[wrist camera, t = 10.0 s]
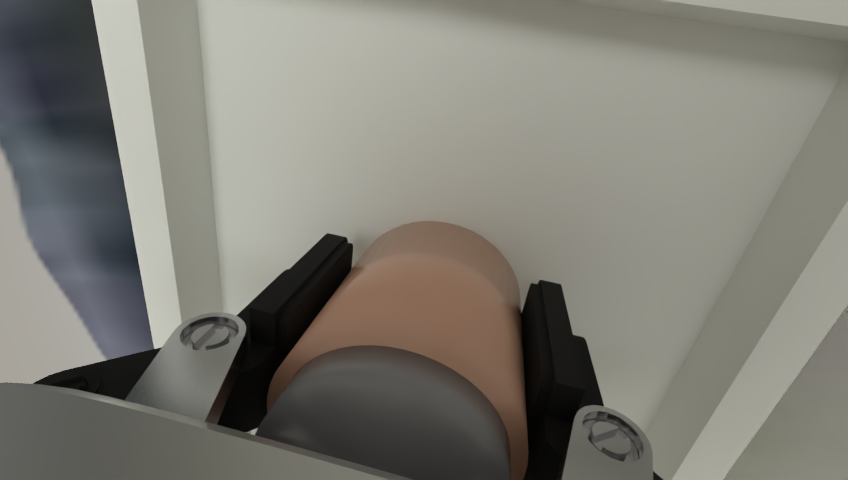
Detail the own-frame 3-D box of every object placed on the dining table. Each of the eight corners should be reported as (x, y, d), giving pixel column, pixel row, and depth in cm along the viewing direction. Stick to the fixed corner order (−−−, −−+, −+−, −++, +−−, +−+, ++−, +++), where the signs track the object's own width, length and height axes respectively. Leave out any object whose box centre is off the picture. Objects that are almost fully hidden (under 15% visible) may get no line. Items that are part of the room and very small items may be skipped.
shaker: (360, 204, 11) (226, 336, 6) (541, 242, 11) (573, 425, 5) (348, 345, 13) (242, 536, 8) (499, 382, 13) (492, 614, 8)
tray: (173, -103, 11) (63, -155, 8) (914, -7, 9) (1090, -35, 6) (220, 390, 19) (171, 446, 16) (624, 500, 17) (646, 585, 14)
